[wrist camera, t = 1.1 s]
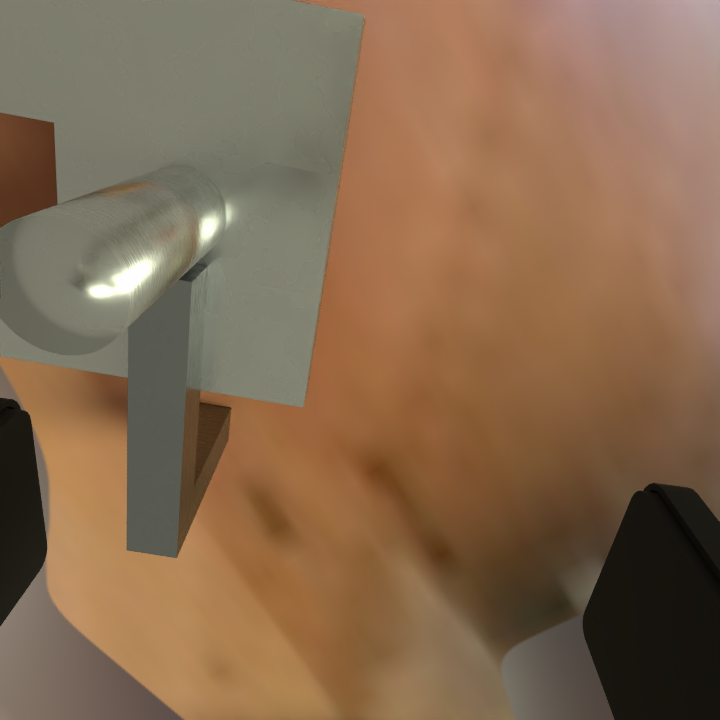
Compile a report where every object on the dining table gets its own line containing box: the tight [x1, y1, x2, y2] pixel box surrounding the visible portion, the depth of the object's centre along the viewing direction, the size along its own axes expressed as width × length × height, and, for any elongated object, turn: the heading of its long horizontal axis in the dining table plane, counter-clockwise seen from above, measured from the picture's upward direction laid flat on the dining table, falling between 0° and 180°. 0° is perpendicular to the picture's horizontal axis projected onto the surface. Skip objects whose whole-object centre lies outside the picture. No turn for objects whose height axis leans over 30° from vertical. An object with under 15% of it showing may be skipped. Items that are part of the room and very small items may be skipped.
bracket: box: [127, 263, 231, 558], centre depth 30 cm, size 14×2×10 cm, turn 170°
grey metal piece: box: [0, 0, 365, 407], centre depth 22 cm, size 16×18×18 cm
